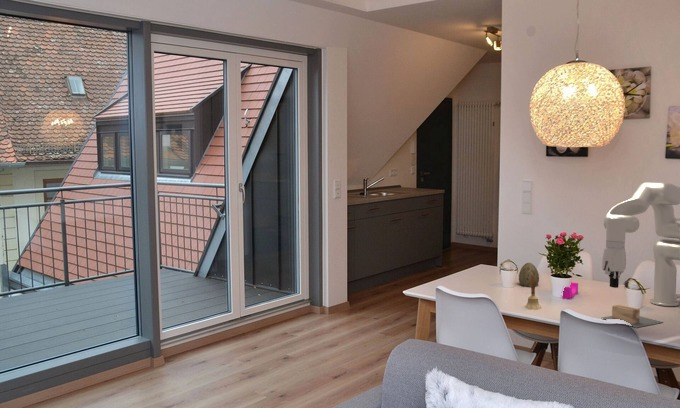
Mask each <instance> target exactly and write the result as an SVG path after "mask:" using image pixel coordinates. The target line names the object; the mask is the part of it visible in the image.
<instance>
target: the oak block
mask: <svg viewBox="0 0 680 408" xmlns="http://www.w3.org/2000/svg"><path fill="white" fill-rule="evenodd" d="M611 306H612V309H611V316H612V319H620V320H624V321H626V322H628V323H630V324H636V323H639V319H640V316H641V314H640V313H641V309H640V308H636V307H632V306H628V305H623V304H617V305H616V304H615V305H611Z"/></svg>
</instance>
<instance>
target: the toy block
mask: <svg viewBox="0 0 680 408" xmlns="http://www.w3.org/2000/svg"><path fill="white" fill-rule="evenodd" d="M562 292H563V296H562V299H563V300H569V301H570V300H572V299H573V298H574V297H576V295H577V294H579V282H572V281H571V285H570V287H569V286H566V287H565V288H564V291H563V290H562Z"/></svg>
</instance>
